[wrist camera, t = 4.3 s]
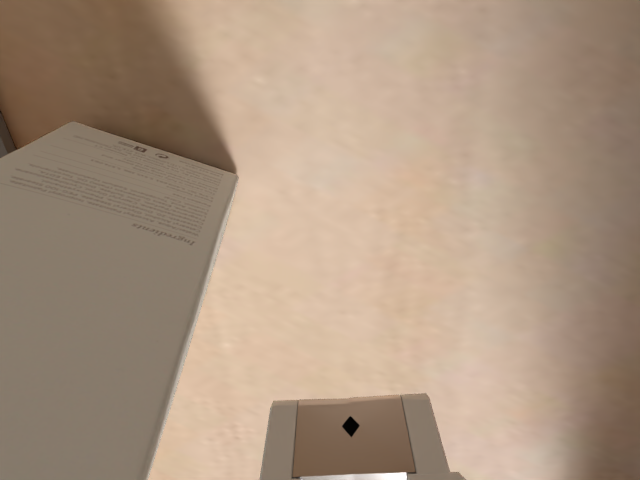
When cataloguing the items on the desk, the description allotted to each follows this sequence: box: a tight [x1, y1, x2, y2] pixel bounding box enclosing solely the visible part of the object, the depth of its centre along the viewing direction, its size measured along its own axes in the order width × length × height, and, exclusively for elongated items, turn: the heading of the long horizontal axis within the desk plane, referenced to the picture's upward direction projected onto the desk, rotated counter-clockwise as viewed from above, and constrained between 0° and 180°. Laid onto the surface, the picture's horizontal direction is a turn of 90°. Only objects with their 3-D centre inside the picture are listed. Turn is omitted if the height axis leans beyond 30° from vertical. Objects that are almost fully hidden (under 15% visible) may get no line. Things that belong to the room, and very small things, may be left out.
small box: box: [0, 121, 239, 480], centre depth 12 cm, size 8×6×13 cm
